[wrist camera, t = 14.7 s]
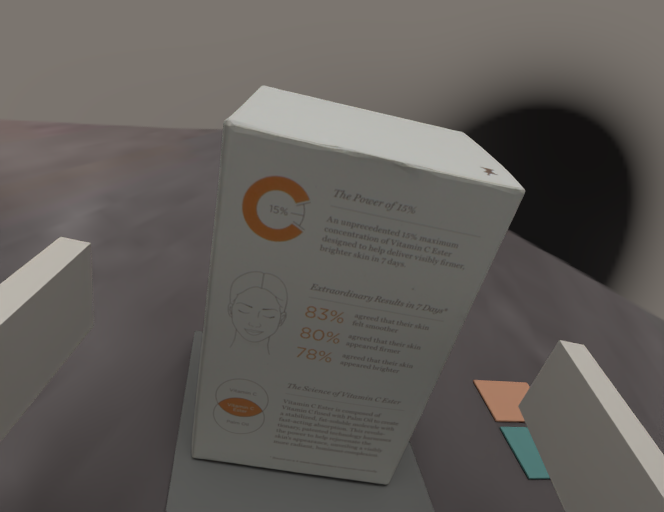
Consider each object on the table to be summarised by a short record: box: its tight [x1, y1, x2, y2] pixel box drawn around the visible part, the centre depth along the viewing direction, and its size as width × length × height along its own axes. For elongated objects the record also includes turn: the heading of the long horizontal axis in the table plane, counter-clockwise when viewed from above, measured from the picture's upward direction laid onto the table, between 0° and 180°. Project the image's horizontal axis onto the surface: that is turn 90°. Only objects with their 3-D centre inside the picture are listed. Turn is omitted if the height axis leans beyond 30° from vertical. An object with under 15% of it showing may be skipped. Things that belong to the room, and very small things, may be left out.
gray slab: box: [166, 331, 434, 512], centre depth 20 cm, size 10×10×1 cm
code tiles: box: [473, 380, 550, 479], centre depth 23 cm, size 4×6×1 cm, turn 9°
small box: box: [192, 86, 525, 485], centre depth 17 cm, size 8×6×13 cm
